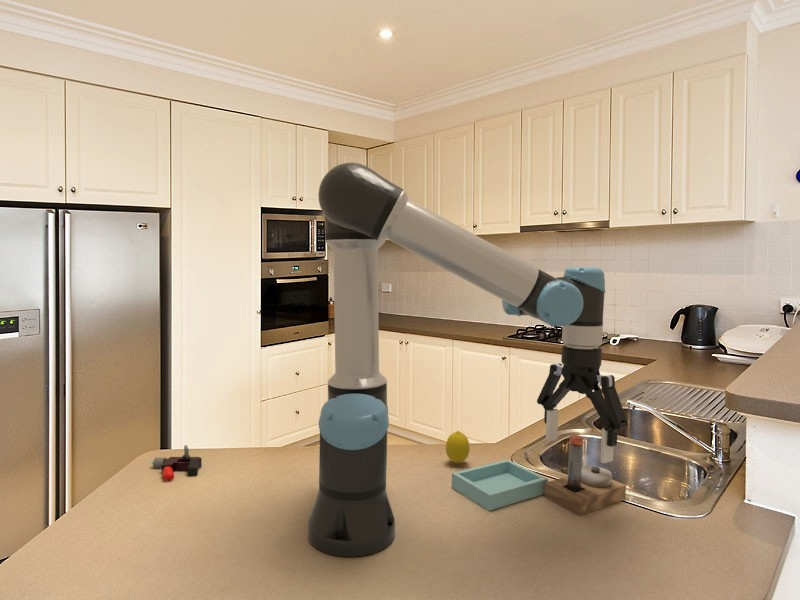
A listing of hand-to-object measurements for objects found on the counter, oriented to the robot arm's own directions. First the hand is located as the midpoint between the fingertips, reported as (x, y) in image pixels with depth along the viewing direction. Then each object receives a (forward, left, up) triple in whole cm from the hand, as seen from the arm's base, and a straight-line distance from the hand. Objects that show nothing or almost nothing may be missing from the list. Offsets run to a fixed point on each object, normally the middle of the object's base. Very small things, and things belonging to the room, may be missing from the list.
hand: (577, 450), depth 107 cm
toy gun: (-67, +53, -11) cm, 87 cm away
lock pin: (0, 0, -11) cm, 11 cm away
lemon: (-9, +27, -11) cm, 31 cm away
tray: (-10, +12, -11) cm, 19 cm away
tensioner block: (+3, 0, -11) cm, 11 cm away
